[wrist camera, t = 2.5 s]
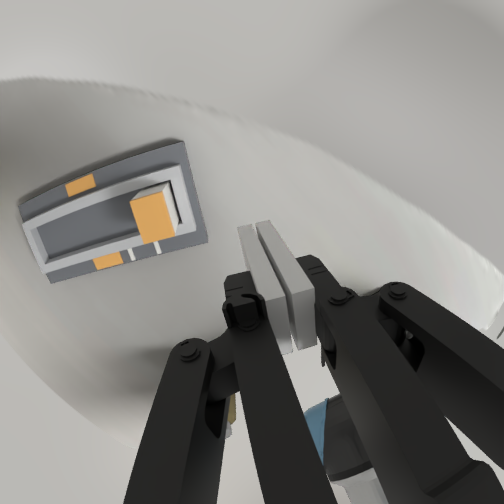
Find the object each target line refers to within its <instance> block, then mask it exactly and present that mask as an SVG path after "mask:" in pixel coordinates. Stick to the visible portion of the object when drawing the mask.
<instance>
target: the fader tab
mask: <svg viewBox="0 0 504 504" xmlns="http://www.w3.org/2000/svg"><path fill="white" fill-rule="evenodd" d="M130 205H131V208H132V211H133V214H134V217H135V220H136V223H137V226H138V229H139V232H140V235H141V238H142V240H143V243H144V244H147V243H151V242H155V241H159V240H162V239H166V238H170V237H174V236H175V233H176V229H177V226H178V222H179V215H178V211H177V208H176V204H175V201H174V197H173V194H172V190H171V186H170V183H169V181H168V182H164V183H161V184H157V185H154V186H150V187H147V188H144V189H142V190H141V191H140V192H139V193H138V194H137V195H136V196H135V197H134V198H133V199H132V200H131V201H130Z"/></svg>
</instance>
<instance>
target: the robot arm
mask: <svg viewBox="0 0 504 504" xmlns="http://www.w3.org/2000/svg"><path fill="white" fill-rule="evenodd" d="M255 224H256V229H257V234H258V237H257V235H256V233H255V231H254V229H253V226H252V224H250V225H246V226H242V227H237V228H238V233H239V237H240V242H241V246H242V251H243V255H244V260H245V264H246V269H247V271H246V272H242V273H238V274H234V275H229V276H227V278H226V280H225V282H224V289H225V296H226V301H225V302H224V303H223V307H222V311H223V314H224V317H225V320H226V323H227V326H228V328H227V330H226V331H225V333H223V334H222V335H221V336H220V337H218V338H216V339H215V340H213V341H211V342H208V343H207V342H206V341H204V340H202V339H198V338H191V339H186V340H184V341H182V342H180V343H178V344H177V345H176V346H175V347H174V348H173V350H172V351H171V353H170V355H169V358H168V361H167V364H166V367H165V370H164V372H163V375H162V378H161V381H160V384H159V387H158V390H157V393H156V396H155V399H154V402H153V405H152V408H151V411H150V414H149V417H148V420H147V423H146V427H145V430H144V433H143V436H142V439H141V443H140V446H139V449H138V453H137V456H136V459H135V463H134V466H133V470H132V473H131V477H130V480H129V484H128V488H127V491H126V495H125V499H124V503H123V504H217V497H218V489H219V482H220V474H221V466H222V459H223V451H224V444H225V436H226V428H227V421H228V413H229V406H230V398H231V397H230V396H231V395H233V394H235V393H237V392H239V391H240V394H241V400H242V405H243V410H244V415H245V419H246V424H247V429H248V434H249V438H250V443H251V447H252V452H253V456H254V461H255V465H256V469H257V474H258V477H259V482H260V486H261V490H262V494H263V498H264V502H265V504H338V503H337V501H336V498H335V496H334V493H333V490H332V488H331V485H330V482H331V483H333V484H337V485H341V486H343V487H344V488H345V490H346V493H347V495H348V497H349V499H350V502H351V503H352V504H504V490H503V488H502V486H501V484H500V482H499V480H498V478H497V476H496V474H495V472H494V471H493V469H492V468H491V467H490V466H489V465H488V464H486V463H485V462H484V461H478V460H473V459H472V458H470V457H469V455H468V454H467V452H466V451H465V449H464V447H463V445H462V444H461V442H460V441H459V439H458V437H457V435H456V434H455V432H454V430H453V429H452V427H451V426H450V424H449V422H448V421H447V419H446V418H448V419H449V420H450V421H451V422H452V423H453V424H454V425H455V426H456V427H457V428H458V429H460V431H462V432H463V433H464V434H465V435H466V436H467V437H468V438H469V439H470V440H471V441H472V442H473V443H474V444H475V445H476V446H478V447H479V448H480V449H481V450H482V451H483V452H484V453H485V454H486V455H487V456H488V457H489V458H490V459H491V460H492V461H493V462H494V463H496V464H497V465H498V466H499V467H501V468H502V469H503V470H504V349H503V348H502V347H500V346H499V345H498V344H496V343H495V342H493V341H492V340H491V339H489V338H488V337H486V336H485V335H484V334H482V333H481V332H479V331H478V330H477V329H475V328H474V327H472V326H471V325H469V324H468V323H466V322H465V321H464V320H462V319H461V318H459V317H458V316H456V315H455V314H453V313H452V312H450V311H449V310H447V309H446V308H444V307H443V306H441V305H440V304H438V303H436V302H435V301H433V300H432V299H430V298H429V297H427V296H426V295H424V294H422V293H421V292H419V291H418V290H416V289H414V288H413V287H411V286H410V285H408V284H405V283H402V282H390V283H387V284H385V285H384V286H383V287H381V289H380V291H379V292H377V293H375V294H374V295H372V296H358V295H357V293H355V292H354V291H353V290H352V289H349V288H346V287H341V286H340V284H339V283H338V282H337V281H336V279H335V278H334V277H333V276H332V274H331V273H330V272H329V271H328V269H327V268H326V267H325V266H324V264H323V263H322V262H321V261H320V259H319V258H316V257H314V256H312V255H307V256H303V257H299V258H295V257H294V256H293V254H292V253H291V251H290V250H289V248H288V247H287V245H286V244H285V242H284V241H283V239H282V238H281V236H280V235H279V233H278V232H277V231H276V229H275V228H274V226H273V225H272V223H271V222H270V220H267V221H263V222H259V223H255ZM290 332H291V333H290ZM291 334H292V336H293V339H294V341H295V343H296V346H297V348H298V350H301V349H305V348H308V347H311V346H315V345H317V336H318V338H319V340H320V342H321V363H322V367H323V366H325V362H326V364H327V366H328V368H329V370H330V373H331V375H332V377H333V379H334V381H335V383H336V385H337V388H338V390H339V392H340V394H338V395H336V396H334V397H332V398H330V399H329V398H326V399H325V401H323V402H321V403H319V404H317V405H315V406H313V407H311V408H309V409H308V410H307V411H306V412H305V413H304V414H303V411H302V408H301V406H300V403H299V400H298V397H297V395H296V392H295V390H294V387H293V384H292V381H291V379H290V376H289V373H288V371H287V368H286V365H285V362H284V360H283V357H282V355H284V354H288V353H291V352H293V349H292V341H291ZM445 417H446V418H445ZM326 474H327V475H328V477H329V480H330V482H329V480H328V477H327V475H326Z"/></svg>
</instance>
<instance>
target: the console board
mask: <svg viewBox="0 0 504 504" xmlns="http://www.w3.org/2000/svg"><path fill="white" fill-rule="evenodd" d="M168 181H169V183H170V186H171V190H172V194H173V197H174V201H175V204H176V208H177V211H178V215H179V222H178V226H177V229H176V233H175V236H174V237H170V238H166V239H162V240H159V241H155V242H151V243H147V244H144V243H143V240H142V238H141V235H140V232H139V229H138V226H137V223H136V220H135V217H134V214H133V211H132V208H131V205H130V201H131V200H132V199H133V198H134V197H135V196H136V195H137V194H138V193H139V192H140V191H141V190H142V189H144V188H147V187H150V186H154V185H157V184H161V183H164V182H168ZM18 207H19V210H20V213H21V216H22V219H23V222H24V223H22V227H23V230H24V232H25V235H26V237H27V240H28V242H29V245H30V247H31V249H32V252H33V254H34V256H35V258H36V260H37V263H38V265H39V267H40V269H41V271H42V273H43V274H45V273H46V275H47V277H48V279H49V281H50V283H51V284H52V283H55V282H59V281H63V280H66V279H70V278H73V277H77V276H81V275H84V274H88V273H92V272H95V271H99V270H103V269H106V268H110V267H114V266H118V265H121V264H125V263H129V262H133V261H137V260H140V259H144V258H148V257H152V256H156V255H160V254H164V253H168V252H172V251H176V250H180V249H184V248H188V247H192V246H196V245H200V244H204V243H208V235H207V231H206V228H205V224H204V220H203V216H202V212H201V209H200V205H199V201H198V197H197V193H196V189H195V185H194V181H193V177H192V173H191V169H190V165H189V160H188V156H187V152H186V148H185V143H184V141H182V142H179V143H175V144H171V145H168V146H164V147H161V148H158V149H154V150H151V151H148V152H145V153H141V154H138V155H135V156H132V157H129V158H127V159H124V160H121V161H118V162H115V163H112V164H110V165H107V166H104V167H102V168H99V169H97V170H94V171H92V172H89V173H87V174H84V175H82V176H79V177H77V178H75V179H72V180H70V181H68V182H66V183H63V184H61V185H59V186H57V187H55V188H53V189H51V190H48V191H46V192H44V193H42V194H40V195H38V196H36V197H34V198H32V199H30V200H29V201H27V202H25V203H23V204H21V205H20V206H18Z"/></svg>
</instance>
